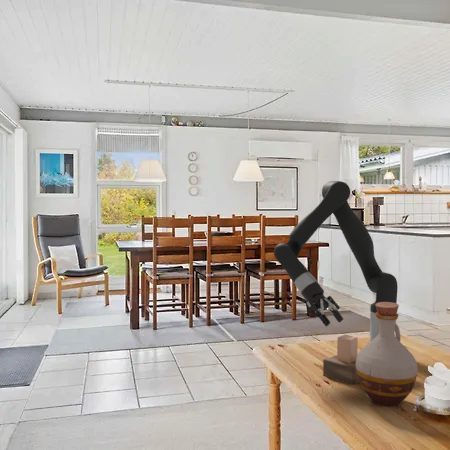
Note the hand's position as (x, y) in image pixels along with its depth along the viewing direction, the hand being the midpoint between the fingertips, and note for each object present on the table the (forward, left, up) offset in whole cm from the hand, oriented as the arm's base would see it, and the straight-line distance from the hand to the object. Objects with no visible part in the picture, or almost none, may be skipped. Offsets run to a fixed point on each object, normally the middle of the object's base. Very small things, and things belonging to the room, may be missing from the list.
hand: (335, 322), depth 172 cm
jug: (+11, +25, -18) cm, 33 cm away
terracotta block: (0, +5, -12) cm, 13 cm away
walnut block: (0, +5, -18) cm, 19 cm away
